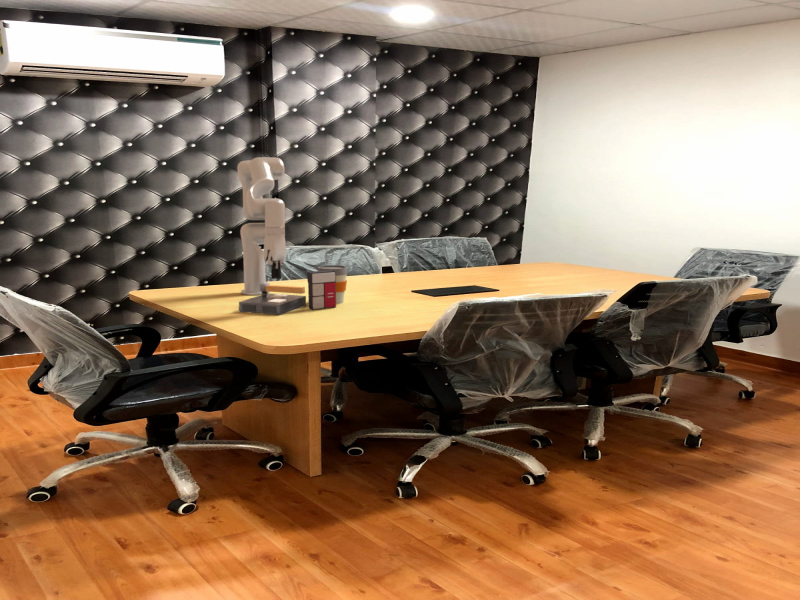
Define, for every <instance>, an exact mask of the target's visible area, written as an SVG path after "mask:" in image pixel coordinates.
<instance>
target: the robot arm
mask: <svg viewBox="0 0 800 600" xmlns="http://www.w3.org/2000/svg"><path fill="white" fill-rule="evenodd" d="M284 174H285V163H284V162H283V160H282V159H281V158H280V157H270V156H269V157H267V156H266V157H265V156H264V157H263V156H261V157H254V158H252V159H250V160H242V161H240V162H239V163H238V164H237V176H238V179H239V182H240V184H241V188H242V206H243V207H242V210H243V215H244V218H245V220H249V221H264V222H249V223H245V224H243V225H242V226H241V228H240V231H239V233H240V238H241V245H242V256H243V258H242V259H243V285H244V289H241V290H240V294H242V295H247V296H261V295H262V291H260V284H263V283H267V284H269V285H271V284H270V282H269V281H266V262H267V265H269V266H270V271H271V279H272V280H273V279H274V280H280V279H281V278H282V269H281V268H282V265H283V263H284V262H285V259H286V258H287V248H286V247H287V246H286V225H285V224H286V223H285V219H286V218H285V211H286V206H285V205H286V204H285V202H284V201H283V200H282V199H280V198H275V197H274V198H272V197H271V198H269V197H267V198H266V197H265V198H263V196H264V195H267V194H269V193H270V192H272V191H273V190H274V189H275V181H276V180H279V179H281V178H283V177H284ZM260 245H263V249H262V248H261V247H260ZM267 292H268V291H267ZM268 293H269V294H270V292H268Z"/></svg>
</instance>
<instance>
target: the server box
mask: <svg viewBox="0 0 800 600" xmlns="http://www.w3.org/2000/svg"><path fill="white" fill-rule="evenodd" d="M276 294H277V293H270V292H269V293H268V292H267V291H262V294H261V295H256V296H255V297H252V298H248V299H244V300H241V301H238V312H239V311H240V312H239V313H246V312H251V313H250V314H259V313H263V314H262V315H272V314H274V315H276V316H280V315H285V314H287V313H289V312H292V311H296V310H297V309H301V308H304V307H307V296H306V295H297V294H286V295H287V296H285V297H282V298H274V297H269V296H272V295H276ZM280 294H281V293H280ZM281 295H285V293H284V294H281ZM273 299H285V300H286V301H283V302H280V303H275V302H268V301H270V300H273Z"/></svg>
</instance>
